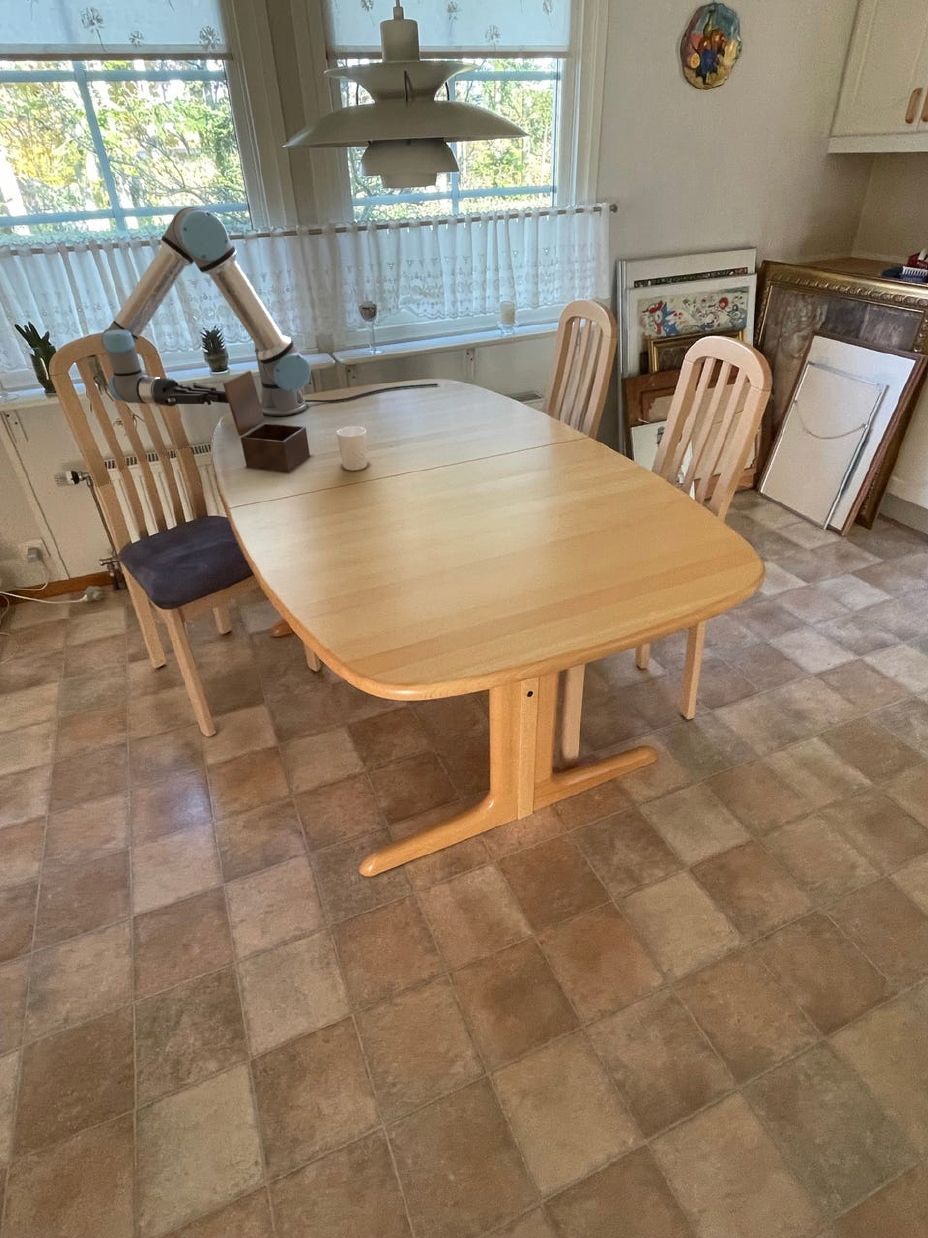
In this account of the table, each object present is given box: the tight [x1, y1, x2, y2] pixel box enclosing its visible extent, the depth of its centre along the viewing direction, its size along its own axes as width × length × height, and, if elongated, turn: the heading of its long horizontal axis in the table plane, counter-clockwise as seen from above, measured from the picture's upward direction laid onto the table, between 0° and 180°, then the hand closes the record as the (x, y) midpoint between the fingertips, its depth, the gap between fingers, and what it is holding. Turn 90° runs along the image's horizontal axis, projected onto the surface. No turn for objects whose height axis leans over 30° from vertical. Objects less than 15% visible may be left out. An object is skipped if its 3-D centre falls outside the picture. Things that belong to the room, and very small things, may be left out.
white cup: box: [336, 425, 368, 471], centre depth 192 cm, size 8×8×10 cm
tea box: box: [240, 422, 311, 473], centre depth 196 cm, size 13×12×9 cm
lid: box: [222, 369, 266, 437], centre depth 191 cm, size 14×12×1 cm
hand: (232, 397), depth 191 cm, fingers closed
